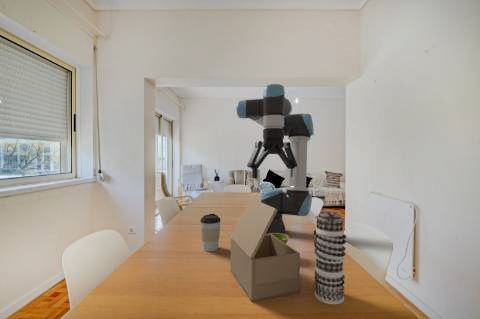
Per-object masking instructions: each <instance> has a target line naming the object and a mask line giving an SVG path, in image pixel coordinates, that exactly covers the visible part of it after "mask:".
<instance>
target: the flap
mask: <svg viewBox="0 0 480 319" xmlns="http://www.w3.org/2000/svg"><path fill="white" fill-rule="evenodd" d="M276 212H277V209H275V208H273V207H271V206H268V205H266V204H264V203H262V202H261V201H259V200H257V199H254V198H252V197H250V198H249V200H248V203H247V204H246V206H245V208H244V210H243V212H242V214H241V215H240V217H239V219H238V221H237V223H236V225H235V227H234V228H233V230H232V233H231V234H230V235H229V236H230V237H229V238H230V240H231V239H232V240H233V241H234V242H235V243H236V244H237V245H238V246H239V247H240V248H241V249H242V250H243V251H244V252H245V253H246V254H247V255H248V256H249V257H250V258H251V259H253V258H254V256H255V254H256V252H257V250H258V248H259V246H260V244H261V242H262V240H263V238H264V236H265V234H266V232H267V230H268V228H269V226H270V224H271V222H272V220H273V218H274V216H275V214H276Z"/></svg>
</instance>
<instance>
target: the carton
mask: <svg viewBox="0 0 480 319" xmlns="http://www.w3.org/2000/svg"><path fill="white" fill-rule="evenodd" d="M300 262H301V253H300V252H299V251H297V250H295V248H293V247H291V246H290V245H289V244H285V243H284V242H282V241H281V240H279V239H278V238H276V237H275V236H273V235H272V234H265V236H264V238H263V240H262V242H261V244H260V246H259V248H258V250H257V252H256V254H255V256H254V258H253V259H251V258H250V257H249V256H248V255H247V254H246V253H245V252H244V251H243V250H242V249H241V248H240V247H239V246H238V245H237V244H236V243H235V242H234V241H233V240H232V239H231V238H230V272H231V274H232V275H233V277H234V279H235V280H236V281H237V283H238V284H239V286H240V287H241V289H242V290H243V292H244V293H245V294H246V296H247V297H248V299H249V300H250V302H257V301H261V300H262V301H263V300H265V299H271V298H276V297H282V296H285V295H290V294H291V295H292V294H296V293H300V290H301V289H300V284H301V283H300V282H301V279H300V276H301V274H300V271H301V263H300Z"/></svg>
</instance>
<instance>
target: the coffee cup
mask: <svg viewBox="0 0 480 319" xmlns="http://www.w3.org/2000/svg"><path fill="white" fill-rule="evenodd" d="M200 232H201V242H202V243H201V244H202V250H203V251H204V252H215V251H218V250H219V243H220V242H219V241H220V232H221V217H219V215H217V214H215V213H209V214H205V215H202V217H201V218H200Z"/></svg>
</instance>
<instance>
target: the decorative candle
mask: <svg viewBox="0 0 480 319" xmlns="http://www.w3.org/2000/svg"><path fill="white" fill-rule="evenodd" d="M315 219H316V226H315V229H314V231H313V235H314V237H313V246H314V257H315V262H316V264H315V269H314V282H313V285H314V287H313V288H314V289H313V290H314V297H315V298H316V299H317V300H318V301H320V302H322V303H324V304H328V305H340V304H342V303H344V301H345V297H344V296H345V286H344V285H345V274H344V267H343V266H344V262H345V259H346V258H345V256H346V252H345V251H346V247H345V246H344V245H345V244H346V243H347V241H346V238H347V235H346V234H345V229H344V221H345V218H343V217H342V216H341V214H340V213H339V212H335V211H330V210H329V211H320V212H319V213H318V215H315Z"/></svg>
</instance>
